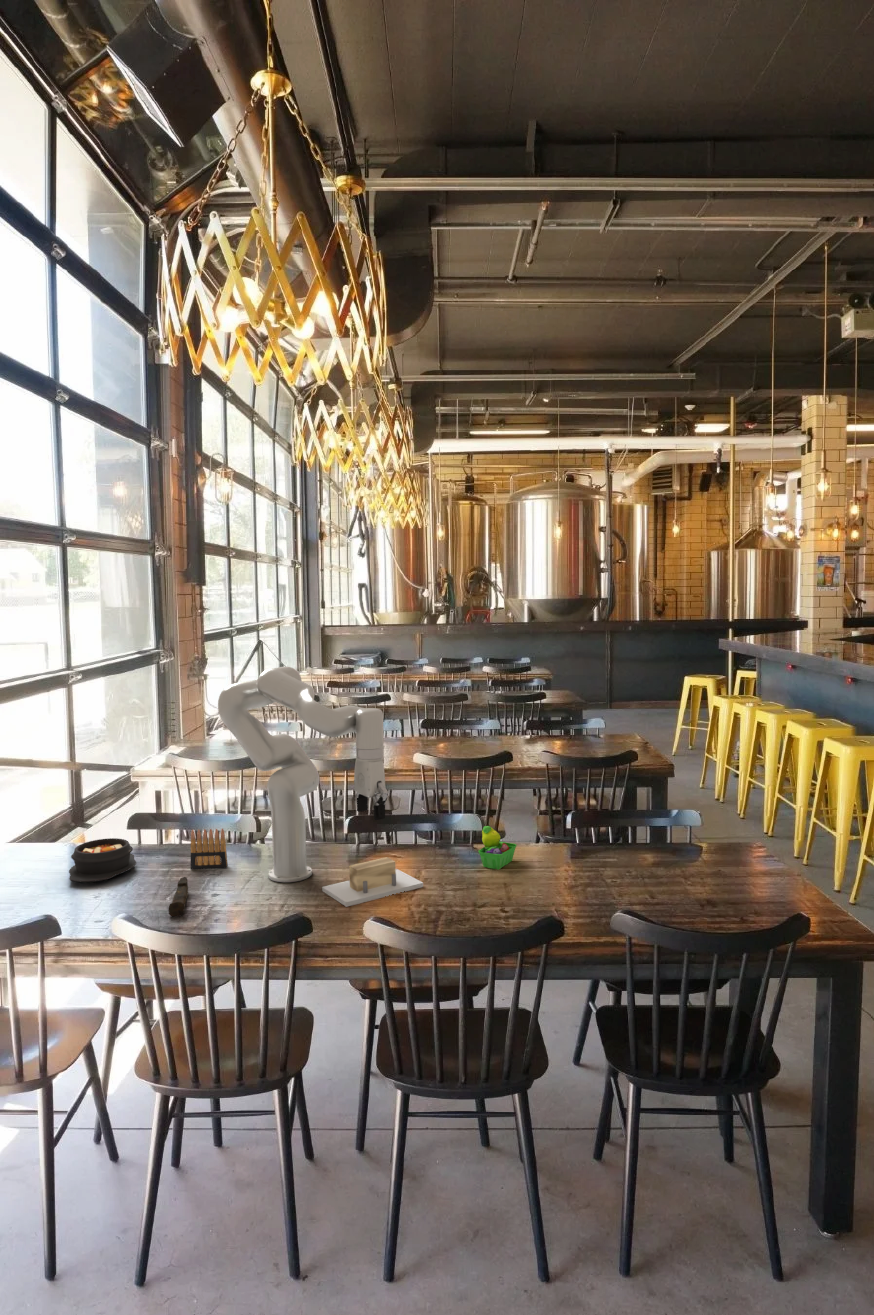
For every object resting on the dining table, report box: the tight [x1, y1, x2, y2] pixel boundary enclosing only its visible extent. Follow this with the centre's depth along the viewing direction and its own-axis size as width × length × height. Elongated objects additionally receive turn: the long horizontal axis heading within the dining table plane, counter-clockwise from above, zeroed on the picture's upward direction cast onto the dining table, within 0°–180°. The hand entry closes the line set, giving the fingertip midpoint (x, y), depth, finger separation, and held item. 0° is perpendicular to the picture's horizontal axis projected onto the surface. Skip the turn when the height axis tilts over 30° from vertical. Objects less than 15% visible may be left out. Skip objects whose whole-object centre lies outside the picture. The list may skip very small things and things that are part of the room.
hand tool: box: [168, 876, 189, 917], centre depth 217 cm, size 19×4×5 cm, turn 9°
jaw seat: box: [321, 868, 424, 908], centre depth 224 cm, size 14×24×4 cm, turn 124°
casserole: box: [68, 837, 137, 883], centre depth 241 cm, size 25×19×8 cm
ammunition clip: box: [190, 828, 228, 871], centre depth 244 cm, size 11×2×12 cm, turn 93°
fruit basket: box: [477, 825, 518, 870], centre depth 243 cm, size 11×9×11 cm
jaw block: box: [348, 857, 397, 892], centre depth 224 cm, size 4×12×6 cm, turn 124°
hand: (370, 815), depth 223 cm, fingers open, 9 cm apart
